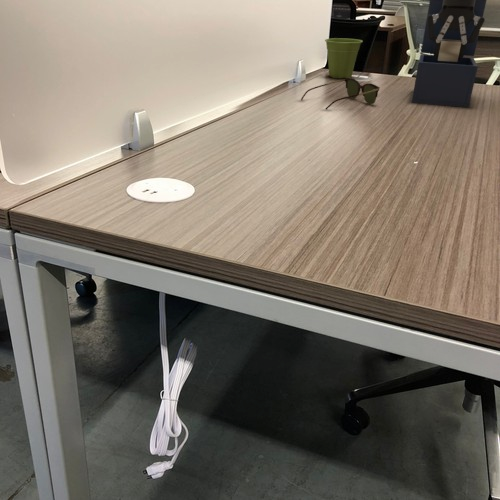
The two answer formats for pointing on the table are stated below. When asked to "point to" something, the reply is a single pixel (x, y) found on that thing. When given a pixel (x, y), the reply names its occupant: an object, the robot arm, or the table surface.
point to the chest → (444, 81)
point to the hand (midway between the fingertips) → (447, 58)
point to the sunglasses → (355, 90)
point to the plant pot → (342, 56)
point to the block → (449, 50)
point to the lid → (429, 45)
